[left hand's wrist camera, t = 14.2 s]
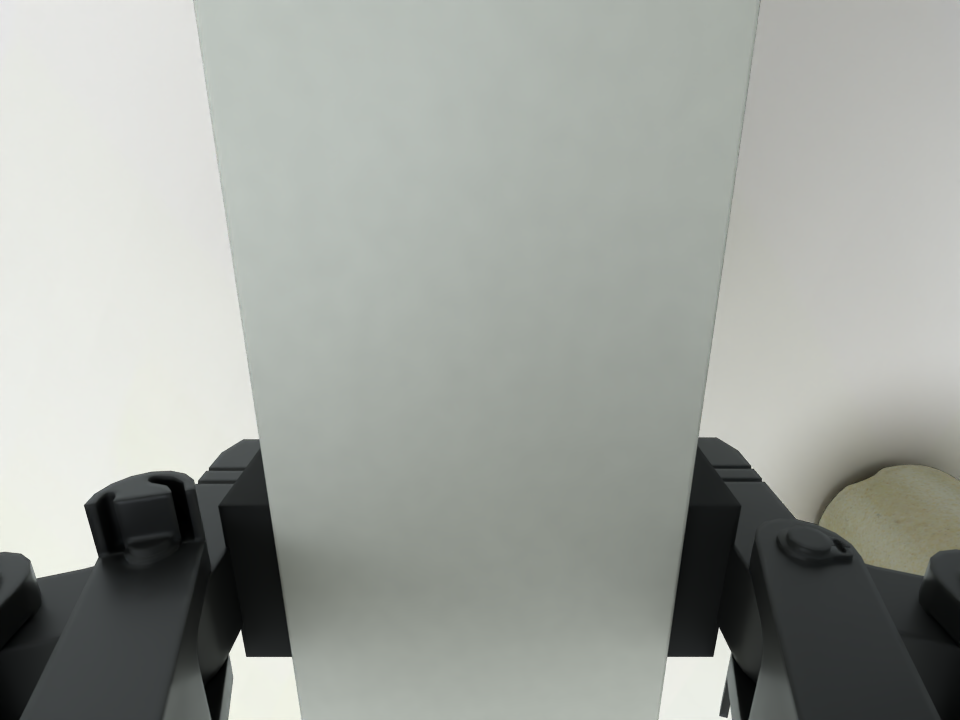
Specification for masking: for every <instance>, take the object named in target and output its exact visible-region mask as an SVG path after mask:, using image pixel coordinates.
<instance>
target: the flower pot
mask: <svg viewBox="0 0 960 720" xmlns="http://www.w3.org/2000/svg"><path fill="white" fill-rule="evenodd" d="M819 526H821V527H824V528H826V529H828V530H830V531H833V532H835V533H837V534H838V535H839V536H841V537H842V538H844V539H845V540H847V541H848V542H849V543H851V544H852V545H853V546H854V548H855V549H856V550H857V552H858V553H859V554H860V555H861V557H862V559H863V561H864V563H865V564H869V565H873V566H877V567H882V568H887V569H892V570H897V571H902V572H907V573H911V574H916V575H921V576H924V575H925V572H926V569H927V566H928V563H929V560H930V557H932V556H933V555H934V554H936V553H937V552H939V551H944V550H953V549H958V550H960V481H959V480H957V479H956V478H954V477H952V476H951V475H949V474H947V473H945V472H943V471H940V470H938V469H935V468H932V467H927V466H922V465H898V466H892V467H887V468H883V469H881V470H880V471H879V472H878V473H876V474H875V475H874V476H872V477H870V478H868V479H866V480H863V481H860V482H858V483H855V484H851V485H848V486H846V487H845V488H844V489H843V490H841V491H840V492H839V493H838V494H837V495H836V497H835V498H834V499H833V500H832V501H831V502H830V504H829V505H828V507H827V508H826V510H825V511H824V513H823V515H822V517H821V519H820V522H819Z"/></svg>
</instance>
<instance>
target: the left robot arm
mask: <svg viewBox="0 0 960 720" xmlns="http://www.w3.org/2000/svg"><path fill="white" fill-rule="evenodd" d="M84 507H85V511H86V514H87V518H88V521H89V525H90V528H91V532H92V535H93V539H94V542H95V546H96V549H97V553H98V556H99V558H98V560H97V562H96V564H95V566H93V567H89V568H86V569H81V570H76V571H71V572H66V573H61V574H57V575H52V576H47V577H42V578H37V579H36V576H35V573H34V570H33V567H32V564H31V561H30V560H29V559H28V558H26V557H25V556H24V555H22V554H19V553H10V552H0V720H228V716H229V708H230V700H231V692H232V684H233V674H232V667H231V662H230V657H229V652H230V650H231V648H232V646H233V644H234V642H235V640H236V638H237V636H238V634H239V632H240V630H241V631H242V636H243V642H244V647H245V652H246V657H292V652H291V645H290V639H289V632H288V626H287V619H286V612H285V606H284V599H283V592H282V586H281V579H280V572H279V566H278V559H277V553H276V546H275V539H274V533H273V526H272V519H271V513H270V506H269V499H268V493H267V486H266V479H265V473H264V466H263V460H262V453H261V446H260V440H259V439H243V440H242V441H240V442H238V443H237V444H235V445H233V446H232V447H230V448H229V449H227V450H225V451H224V452H222V453H221V454H220V455H219V457H218V458H217V459H216V460H215V461H214V463H213V464H212V465H211V466H210V467H209V471H206V472H205V473H204V474H203V476H202V477H201V478H200V479H199V480H198V484H195V483H194V480H193V479H192V478H191V477H189V476H188V475H186V474H184V473H179V472H174V471H156V472H148V473H144V474H139V475H135V476H131V477H128V478H125V479H123V480H120V481H118V482H115V483H112V484H110V485H109V486H107V487H105V488H104V489H102V490H100V491H99V492H97V493H96V494H94V495H93V496H92V497H91V498H90V499H89V500H88V502H87V503H86V504H85V505H84ZM719 628H720V630H721V632H722V634H723V636H724V638H725V640H726V642H727V644H728V646H729V648H730V650H731V657H730V662H729V667H728V672H727V677H726V682H725V687H724V692H723V696H722V701H721V708H720V715H719V716H722V717H726V718H727V717H728V712H729V708H730V706H731V714H732V720H960V550H958V549H953V550H944V551H939V552H937V553H936V554H934V555H933V556H932V557H930V560H929V563H928V566H927V569H926V572H925V575H924V576H921V575H916V574H911V573H907V572H902V571H897V570H892V569H887V568H882V567H877V566H873V565H869V564H865V563H864V561H863V559H862V557H861V555H860V554H859V553H858V552H857V550H856V549H855V548H854V546H853V545H852V544H851V543H849V542H848V541H847V540H845V539H844V538H842V537H841V536H839V535H838V534H837V533H835V532H833V531H830V530H828V529H826V528H824V527H821V526H819V525H817V524H813V523H809V522H805V521H801V520H797V519H796V518H795V517H794V516H793V515H792V514H791V512H790V511H789V510H788V509H787V508H786V507H785V505H784V504H783V503H782V502H781V501H780V499H779V498H778V497H777V496H776V495H775V494H774V492H773V491H772V490H771V489H770V488H769V486H768V485H767V484H766V483H765V482H762V478H761V477H760V476H759V475H758V473H757V472H756V471H755V470H754V469H751V465H750V464H749V463H748V462H747V460H746V459H745V458H744V457H743V456H742V455H741V453H740V452H739V451H738V450H736V449H735V448H733V447H731V446H730V445H728V444H726V443H725V442H723V441H721V440H720V439H718V438H698V443H697V450H696V457H695V464H694V471H693V478H692V485H691V492H690V499H689V507H688V514H687V521H686V528H685V535H684V542H683V549H682V556H681V563H680V570H679V577H678V584H677V591H676V598H675V605H674V612H673V619H672V626H671V633H670V640H669V647H668V654H667V657H713V656H714V650H715V645H716V640H717V634H718V629H719Z"/></svg>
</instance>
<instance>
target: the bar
mask: <svg viewBox="0 0 960 720" xmlns="http://www.w3.org/2000/svg"><path fill="white" fill-rule="evenodd" d="M193 1H194V8H195V15H196V21H197V28H198V34H199V41H200V48H201V54H202V61H203V68H204V74H205V81H206V88H207V94H208V101H209V108H210V114H211V121H212V127H213V134H214V141H215V147H216V154H217V161H218V167H219V174H220V181H221V187H222V194H223V200H224V207H225V214H226V220H227V227H228V234H229V240H230V247H231V254H232V260H233V267H234V274H235V280H236V287H237V293H238V300H239V307H240V313H241V320H242V327H243V333H244V340H245V347H246V353H247V360H248V367H249V373H250V380H251V386H252V393H253V400H254V406H255V413H256V420H257V426H258V433H259V440H260V446H261V453H262V460H263V466H264V473H265V479H266V486H267V493H268V499H269V506H270V513H271V519H272V526H273V533H274V539H275V546H276V553H277V559H278V566H279V572H280V579H281V586H282V592H283V599H284V606H285V612H286V619H287V626H288V632H289V639H290V645H291V652H292V659H293V665H294V672H295V679H296V685H297V692H298V699H299V705H300V712H301V719H302V720H658V718H659V711H660V703H661V696H662V689H663V682H664V675H665V668H666V661H667V654H668V647H669V640H670V633H671V626H672V619H673V612H674V605H675V598H676V591H677V584H678V577H679V570H680V563H681V556H682V549H683V542H684V535H685V528H686V521H687V514H688V507H689V499H690V492H691V485H692V478H693V471H694V464H695V457H696V450H697V443H698V436H699V429H700V422H701V415H702V408H703V401H704V394H705V387H706V380H707V373H708V366H709V359H710V352H711V345H712V338H713V331H714V324H715V317H716V310H717V303H718V295H719V288H720V281H721V274H722V267H723V260H724V253H725V246H726V239H727V232H728V225H729V218H730V211H731V204H732V197H733V190H734V183H735V176H736V169H737V162H738V155H739V148H740V141H741V134H742V127H743V120H744V113H745V106H746V99H747V91H748V84H749V77H750V70H751V63H752V56H753V49H754V42H755V35H756V28H757V21H758V14H759V7H760V0H193Z"/></svg>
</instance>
